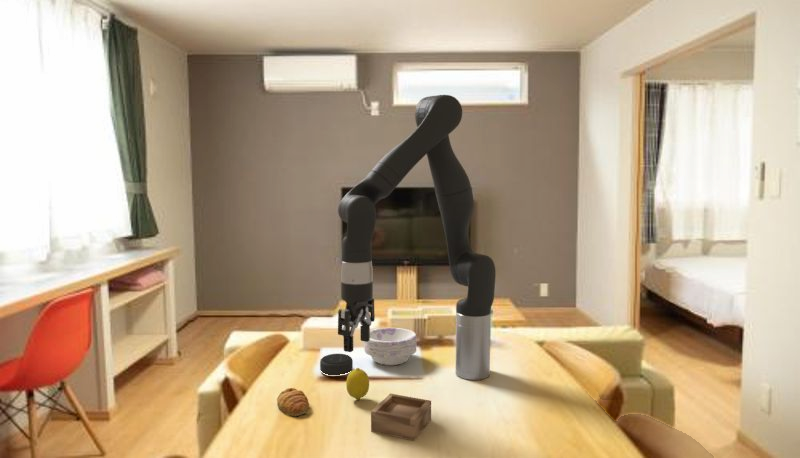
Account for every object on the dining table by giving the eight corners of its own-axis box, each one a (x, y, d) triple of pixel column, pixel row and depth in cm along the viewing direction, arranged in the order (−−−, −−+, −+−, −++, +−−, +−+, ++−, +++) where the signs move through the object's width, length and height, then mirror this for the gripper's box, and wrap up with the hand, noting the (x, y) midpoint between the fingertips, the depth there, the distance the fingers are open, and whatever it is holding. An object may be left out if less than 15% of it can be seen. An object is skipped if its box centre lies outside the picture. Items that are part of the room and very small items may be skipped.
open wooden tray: (390, 412, 127) (390, 393, 127) (431, 420, 123) (431, 400, 123) (371, 431, 118) (370, 411, 118) (414, 440, 114) (414, 419, 114)
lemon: (366, 405, 131) (365, 373, 130) (343, 403, 132) (343, 371, 131) (371, 396, 136) (371, 364, 135) (350, 394, 137) (349, 363, 136)
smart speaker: (314, 371, 152) (313, 357, 152) (340, 364, 158) (339, 350, 158) (332, 381, 146) (332, 366, 145) (359, 372, 152) (359, 358, 151)
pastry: (316, 413, 127) (315, 397, 127) (288, 421, 123) (287, 405, 123) (300, 399, 135) (300, 384, 134) (273, 405, 131) (273, 390, 131)
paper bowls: (392, 347, 172) (392, 323, 171) (427, 360, 161) (427, 334, 160) (353, 359, 161) (353, 333, 160) (388, 374, 150) (387, 346, 149)
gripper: (357, 286, 122) (357, 357, 124) (384, 275, 135) (383, 339, 137) (327, 283, 125) (328, 353, 127) (356, 273, 138) (357, 335, 140)
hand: (357, 345), depth 132 cm, fingers open, 8 cm apart
